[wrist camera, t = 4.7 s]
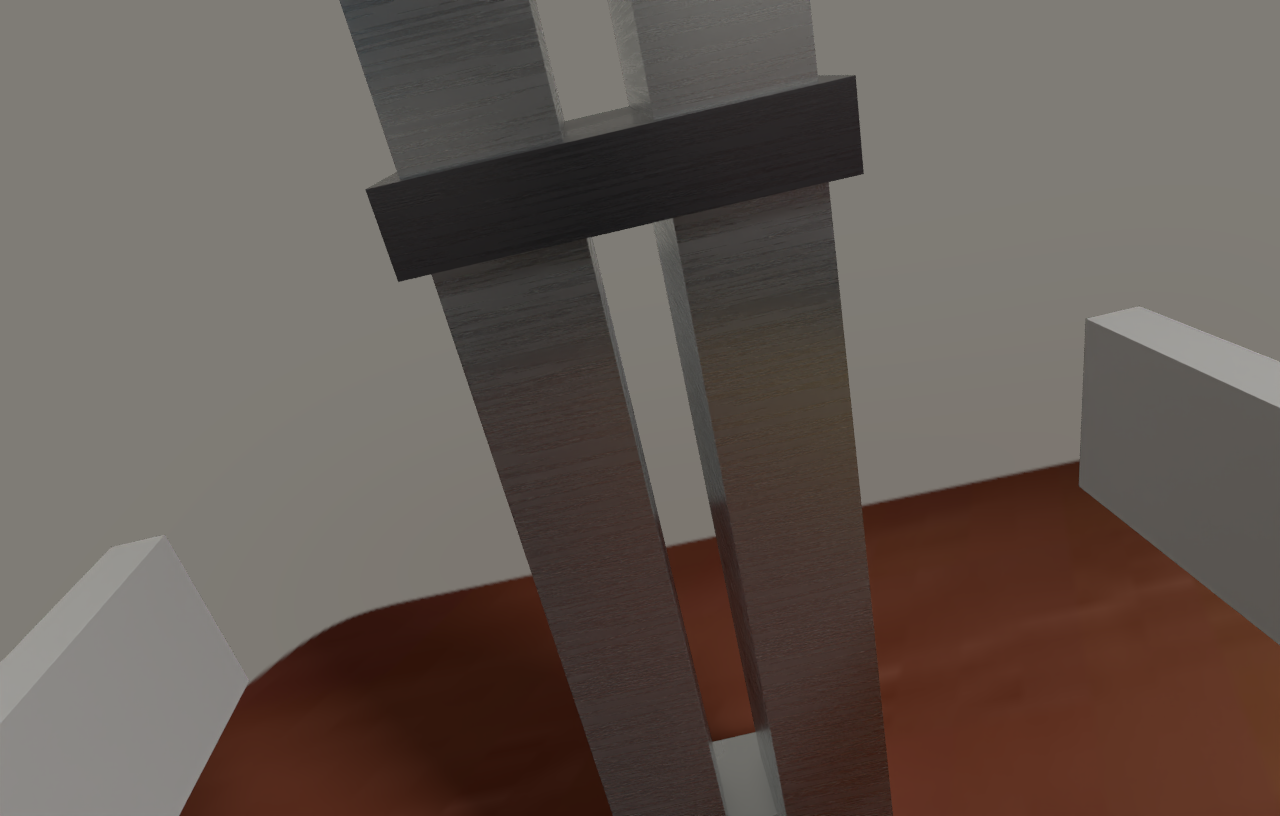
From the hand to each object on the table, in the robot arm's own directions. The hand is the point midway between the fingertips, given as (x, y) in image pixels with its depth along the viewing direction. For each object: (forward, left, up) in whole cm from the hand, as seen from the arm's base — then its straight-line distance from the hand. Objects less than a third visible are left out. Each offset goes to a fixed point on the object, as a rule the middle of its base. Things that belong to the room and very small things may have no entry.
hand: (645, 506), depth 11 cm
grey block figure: (-1, -1, -11) cm, 11 cm away
